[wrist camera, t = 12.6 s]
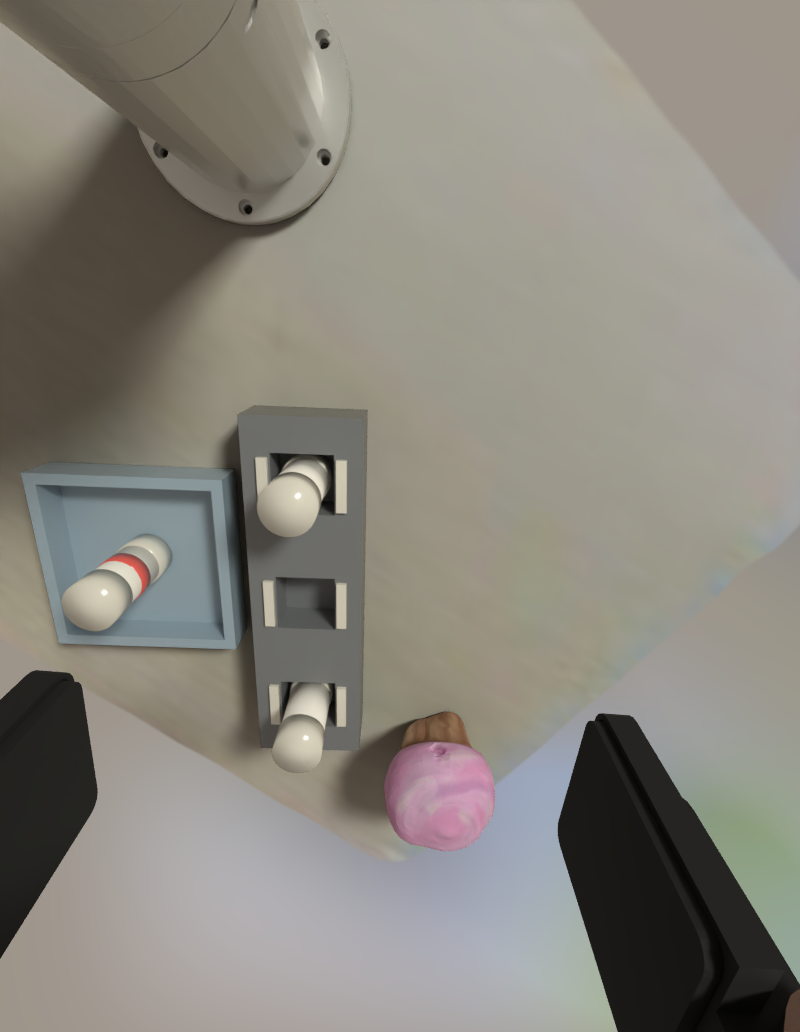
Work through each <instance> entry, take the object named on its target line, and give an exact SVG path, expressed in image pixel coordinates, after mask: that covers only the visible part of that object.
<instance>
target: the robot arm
mask: <svg viewBox="0 0 800 1032" xmlns="http://www.w3.org/2000/svg"><path fill="white" fill-rule="evenodd" d="M0 22H1V23H2V24H4V25H5V26H6V27H8V28H9V29H10V30H12V31H13V32H14V33H15V34H17V35H18V36H19V37H21V38H22V39H23V40H25V41H26V42H27V43H28V44H30V45H31V46H32V47H34V48H35V49H36V50H38V51H39V52H40V53H41V54H43V55H44V56H45V57H47V58H48V59H49V60H50V61H52V62H53V63H54V64H56V65H57V66H58V67H60V68H61V69H62V70H63V71H65V72H66V73H67V74H69V75H70V76H71V77H73V78H74V79H75V80H76V81H78V82H79V83H80V84H82V85H83V86H84V87H86V88H87V89H88V90H89V91H91V92H92V93H93V94H95V95H96V96H97V97H99V98H100V99H101V100H102V101H104V102H105V103H106V104H108V105H109V106H110V107H112V108H113V109H114V110H115V111H117V112H118V113H119V114H121V115H122V116H123V117H124V118H126V119H127V120H128V121H130V122H131V123H132V124H134V125H135V126H136V127H137V129H138V132H139V134H140V137H141V140H142V142H143V144H144V146H145V148H146V150H147V152H148V153H149V155H150V157H151V159H152V161H153V163H154V164H155V165H156V167H157V168H158V169H159V171H160V172H161V173H162V175H163V176H164V177H165V179H166V180H167V181H168V183H169V184H171V185H172V186H173V187H174V188H175V189H176V190H177V191H178V192H179V193H180V194H181V195H182V196H183V197H184V198H185V199H187V200H188V201H190V202H191V203H193V204H194V205H196V206H197V207H198V208H200V209H202V210H204V211H205V212H207V213H209V214H211V215H213V216H215V217H217V218H220V219H223V220H226V221H230V222H233V223H236V224H246V225H263V224H272V223H276V222H279V221H282V220H285V219H287V218H290V217H293V216H294V215H296V214H297V213H299V212H301V211H302V210H304V209H305V208H307V207H309V206H310V205H311V204H312V203H313V202H314V201H315V200H316V199H317V198H318V197H319V196H320V195H321V194H322V193H323V192H324V190H325V189H326V188H327V186H328V185H329V183H330V182H331V180H332V179H333V177H334V176H335V174H336V172H337V170H338V167H339V165H340V163H341V161H342V158H343V156H344V153H345V149H346V145H347V141H348V137H349V134H350V124H351V112H352V103H351V89H350V80H349V76H348V70H347V65H346V61H345V58H344V55H343V51H342V48H341V45H340V42H339V39H338V36H337V34H336V32H335V30H334V28H333V26H332V24H331V22H330V20H329V18H328V16H327V14H326V13H325V11H324V10H323V9H322V7H321V6H320V5H319V3H318V2H317V1H316V0H0ZM323 43H328V45H329V46H328V48H326V49H321V45H322V44H323ZM166 150H167V151H168V155H167V157H166V158H164V152H165V151H166ZM325 157H327V158H329V159H330V162H329V164H328V165H326V166H325V165H323V164H322V160H323V158H325ZM248 206H251V207H252V209H253V211H252V213H251V214H249V215H248V214H247V213H246V208H247V207H248ZM96 800H97V783H96V778H95V770H94V764H93V757H92V750H91V745H90V737H89V731H88V724H87V718H86V711H85V704H84V698H83V691H82V686H81V684H80V683H79V682H74V679H73V676H72V675H71V674H70V673H64V672H51V671H38V670H36V671H32V672H30V673H29V674H28V675H26V676H25V677H24V678H23V679H22V680H21V681H20V682H19V683H18V684H17V685H16V686H15V687H13V688H12V689H11V690H10V691H9V692H8V693H7V694H6V695H5V696H4V697H3V698H2V699H1V700H0V958H1V957H2V955H3V953H4V952H5V950H6V949H7V947H8V946H9V944H10V942H11V941H12V939H13V938H14V936H15V934H16V933H17V931H18V930H19V928H20V926H21V925H22V923H23V922H24V920H25V918H26V917H27V915H28V914H29V912H30V910H31V909H32V907H33V906H34V904H35V902H36V901H37V899H38V898H39V896H40V894H41V893H42V891H43V890H44V888H45V886H46V885H47V883H48V881H49V880H50V878H51V877H52V875H53V874H54V872H55V870H56V869H57V867H58V866H59V864H60V863H61V861H62V859H63V858H64V856H65V855H66V853H67V851H68V850H69V848H70V846H71V845H72V843H73V842H74V840H75V839H76V837H77V835H78V834H79V832H80V830H81V829H82V827H83V826H84V824H85V823H86V821H87V819H88V818H89V816H90V814H91V813H92V811H93V809H94V806H95V803H96ZM558 838H559V843H560V847H561V850H562V853H563V857H564V860H565V863H566V866H567V869H568V873H569V876H570V879H571V883H572V886H573V889H574V892H575V895H576V899H577V902H578V905H579V908H580V911H581V915H582V918H583V921H584V924H585V927H586V931H587V934H588V937H589V941H590V944H591V947H592V950H593V953H594V957H595V960H596V963H597V966H598V970H599V973H600V976H601V979H602V982H603V985H604V989H605V992H606V995H607V998H608V1002H609V1005H610V1008H611V1011H612V1014H613V1018H614V1021H615V1024H616V1027H617V1031H618V1032H800V984H799V982H798V981H797V979H796V977H795V976H794V974H793V973H792V971H791V970H790V968H789V966H788V964H787V963H786V961H785V960H784V958H783V956H782V954H781V953H780V951H779V950H778V948H777V946H776V945H775V943H774V941H773V940H772V938H771V936H770V935H769V933H768V931H767V930H766V928H765V927H764V925H763V923H762V922H761V920H760V918H759V917H758V915H757V913H756V912H755V910H754V908H753V907H752V905H751V904H750V902H749V900H748V899H747V897H746V895H745V894H744V892H743V890H742V889H741V887H740V885H739V884H738V882H737V880H736V879H735V877H734V876H733V874H732V872H731V871H730V869H729V867H728V866H727V864H726V862H725V861H724V859H723V857H722V856H721V854H720V853H719V851H718V849H717V848H716V846H715V844H714V843H713V841H712V839H711V838H710V836H709V835H708V833H707V831H706V829H705V828H704V826H703V825H702V823H701V821H700V820H699V818H698V816H697V815H696V813H695V811H694V810H693V809H692V807H691V806H690V805H689V803H688V802H687V801H686V800H684V799H683V798H682V797H681V795H680V793H679V792H678V790H677V788H676V787H675V785H674V783H673V782H672V780H671V778H670V777H669V775H668V773H667V772H666V770H665V768H664V767H663V765H662V763H661V762H660V760H659V759H658V757H657V755H656V753H655V752H654V750H653V748H652V747H651V745H650V744H649V742H648V740H647V739H646V737H645V735H644V733H643V732H642V730H641V728H640V727H639V725H638V723H637V722H636V721H635V719H634V718H633V717H631V716H629V715H616V714H615V715H614V714H598V715H597V716H596V719H595V721H589V722H588V723H587V725H586V727H585V731H584V734H583V738H582V741H581V745H580V748H579V752H578V755H577V759H576V762H575V766H574V769H573V773H572V776H571V780H570V783H569V787H568V790H567V794H566V797H565V801H564V804H563V808H562V811H561V815H560V818H559V822H558Z"/></svg>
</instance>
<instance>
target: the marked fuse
mask: <svg viewBox="0 0 800 1032" xmlns="http://www.w3.org/2000/svg"><path fill="white" fill-rule="evenodd" d="M171 563H172V551H171V549H170V547H169V546H168V544H167V543H166V542H165V541H164V540H163V539H161V538H160V537H158V536H156V535H152V534H141V535H138V536H136V537H134V538H133V539H132V540H130V541H129V542H128V543H127V544H125V545H124V546H123V547H121V548H120V549H119V550H118V551H117V552H116V554H115V555H113V556H111V557H110V558H108V559H107V560H106V561H104V562H103V563H102V564H100V565H99V566H98V567H97V569H95V570H93V571H91V572H89V573H87V574H86V575H85V576H84V577H82V578H81V579H80V580H78V581H77V582H76V583H74V584H73V585H72V586H70V587H69V588H68V589H67V590H66V591H65V592H64V594H63V596H62V609H63V611H64V613H65V615H66V616H67V618H68V619H69V620H70V621H71V622H72V623H73V624H75V625H76V626H78V627H80V628H82V629H85V630H88V631H102V630H105V629H107V628H109V627H110V626H111V625H112V624H113V623H114V622H115V621H116V620H117V619H118V618H119V617H120V616H121V615H122V614H123V613H124V612H125V611H126V610H127V609H128V608H129V607H130V605H131V603H132V602H133V601H134V600H136V599H137V598H138V597H139V596H140V595H141V594H142V593H143V592H144V591H145V590H146V589H147V588H148V586H149V585H150V584H152V583H154V582H155V581H156V580H157V579H158V578H159V577H160V576H161V575H162V574H163V573H164V572H165V571H166V570H167V569H168V568H169V567H170V565H171Z"/></svg>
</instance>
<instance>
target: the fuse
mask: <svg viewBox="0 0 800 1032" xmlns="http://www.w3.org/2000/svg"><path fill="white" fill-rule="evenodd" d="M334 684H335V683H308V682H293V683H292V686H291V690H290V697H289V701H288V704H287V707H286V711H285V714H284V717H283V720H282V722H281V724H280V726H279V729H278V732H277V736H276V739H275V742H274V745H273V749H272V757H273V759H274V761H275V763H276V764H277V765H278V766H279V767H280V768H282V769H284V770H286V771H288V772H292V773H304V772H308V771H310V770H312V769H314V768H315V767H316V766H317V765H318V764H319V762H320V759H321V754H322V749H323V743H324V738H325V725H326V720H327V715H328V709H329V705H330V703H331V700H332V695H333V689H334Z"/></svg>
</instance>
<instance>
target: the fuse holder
mask: <svg viewBox="0 0 800 1032" xmlns="http://www.w3.org/2000/svg"><path fill="white" fill-rule="evenodd" d="M367 412H368V410H354V409H329V408H304V407H278V406H253V407H251V408H249V409H247V410H245V411H243V412H241V413H239V414H237V416H238V430H239V444H240V459H241V473H242V487H243V501H244V516H245V530H246V544H247V558H248V573H249V587H250V601H251V615H252V630H253V644H254V658H255V672H256V687H257V701H258V715H259V729H260V744H261V748H273V745H274V742H275V739H276V736H277V732H278V729H279V726H280V724H281V722H282V720H283V717H284V714H285V711H286V707H287V704H288V701H289V697H290V690H291V686H292V683H293V682H308V683H335V684H334V689H333V695H332V700H331V703H330V705H329V709H328V715H327V720H326V725H325V738H324V743H323V749H322V750H351V751H359V745H360V735H361V724H362V706H363V647H364V588H365V530H366V471H367ZM295 454H316V455H325V456H326V457H327V458H328V459H329V461H330V462H331V464H332V467H333V471H334V477H333V481H332V484H331V486H330V488H329V490H328V492H327V494H326V495H325V497H324V498H323V500H322V502H321V508H320V510H319V513H318V515H317V517H316V519H315V521H314V523H313V525H312V527H311V528H310V529H309V530H308V531H307V532H305V533H304V534H302V535H299V536H296V537H282V536H279V535H276V534H274V533H272V532H271V531H269V530H268V529H267V528H266V527H265V526H264V525H263V524H262V522H261V520H260V518H259V516H258V512H257V502H258V499H259V496H260V494H261V493H262V491H263V490H264V489H265V488H266V487H267V486H268V484H269V483H270V482H271V481H272V480H273V479H274V478H275V477H276V476H278V475H279V474H280V473H281V471H282V469H283V467H284V466H285V464H286V463H287V462H288V461H289V460H290V459H291V457H292V456H293V455H295Z"/></svg>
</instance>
